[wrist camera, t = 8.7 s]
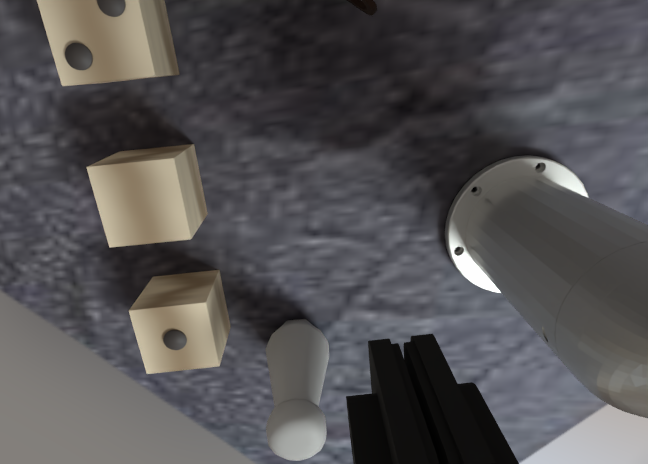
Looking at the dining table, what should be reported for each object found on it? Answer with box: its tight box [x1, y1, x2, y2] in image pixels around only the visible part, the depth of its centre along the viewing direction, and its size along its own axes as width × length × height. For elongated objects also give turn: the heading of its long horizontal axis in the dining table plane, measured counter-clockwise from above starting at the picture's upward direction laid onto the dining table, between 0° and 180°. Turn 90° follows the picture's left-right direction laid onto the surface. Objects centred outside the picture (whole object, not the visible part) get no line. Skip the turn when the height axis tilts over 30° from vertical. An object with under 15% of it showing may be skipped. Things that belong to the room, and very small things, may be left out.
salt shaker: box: [266, 319, 329, 461], centre depth 36 cm, size 6×6×13 cm
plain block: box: [86, 144, 207, 248], centre depth 34 cm, size 6×6×6 cm
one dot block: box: [129, 270, 231, 374], centre depth 38 cm, size 6×6×6 cm
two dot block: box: [37, 0, 180, 86], centre depth 30 cm, size 6×6×6 cm
